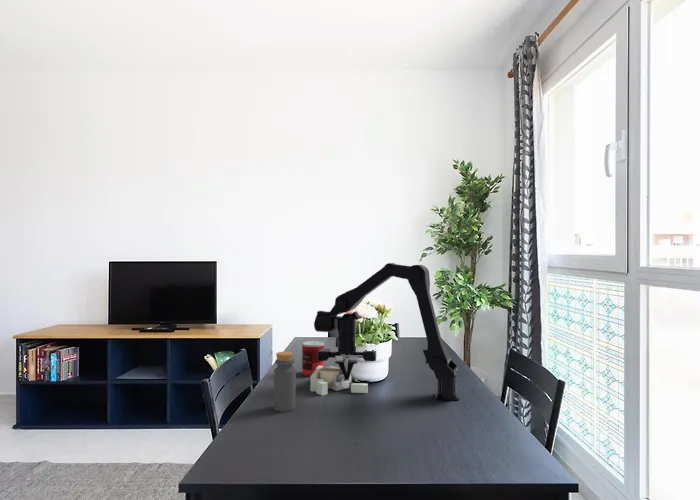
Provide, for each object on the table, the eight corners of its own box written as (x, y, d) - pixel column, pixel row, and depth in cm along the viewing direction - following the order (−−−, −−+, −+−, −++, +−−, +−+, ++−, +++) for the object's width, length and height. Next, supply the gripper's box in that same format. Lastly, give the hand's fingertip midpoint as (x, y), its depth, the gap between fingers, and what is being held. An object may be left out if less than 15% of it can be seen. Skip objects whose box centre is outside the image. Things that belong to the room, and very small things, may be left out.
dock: (366, 397, 131) (366, 381, 131) (308, 395, 133) (308, 379, 133) (370, 377, 152) (370, 364, 153) (320, 375, 154) (320, 362, 154)
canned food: (325, 371, 160) (325, 341, 161) (322, 377, 152) (322, 345, 153) (304, 371, 161) (304, 340, 161) (300, 376, 153) (300, 344, 153)
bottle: (291, 412, 118) (291, 355, 118) (270, 411, 119) (270, 354, 119) (298, 405, 123) (298, 351, 124) (278, 404, 125) (278, 350, 125)
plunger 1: (344, 386, 141) (344, 373, 141) (349, 387, 139) (349, 374, 139) (331, 389, 138) (331, 375, 138) (336, 390, 136) (336, 377, 136)
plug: (339, 388, 139) (339, 372, 139) (317, 388, 140) (317, 372, 140) (342, 382, 146) (342, 367, 146) (321, 381, 147) (321, 366, 147)
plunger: (351, 382, 145) (351, 369, 146) (345, 383, 144) (345, 370, 144) (341, 379, 149) (341, 366, 149) (336, 380, 148) (336, 367, 148)
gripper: (376, 329, 150) (377, 375, 149) (322, 328, 152) (322, 374, 151) (375, 334, 139) (375, 385, 138) (316, 334, 141) (316, 384, 140)
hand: (347, 381), depth 142 cm, fingers closed
